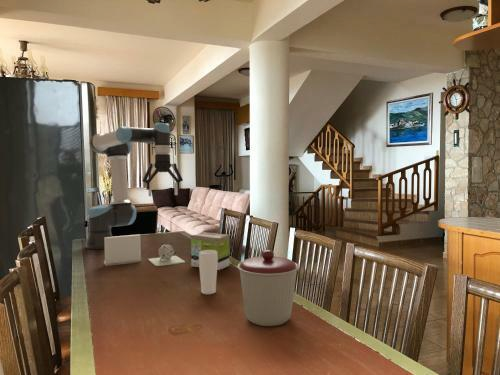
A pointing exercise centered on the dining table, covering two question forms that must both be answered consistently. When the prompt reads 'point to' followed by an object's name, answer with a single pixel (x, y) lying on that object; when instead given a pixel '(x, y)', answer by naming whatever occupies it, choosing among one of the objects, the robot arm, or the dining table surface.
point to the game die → (166, 252)
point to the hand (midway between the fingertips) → (163, 195)
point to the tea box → (210, 247)
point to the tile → (166, 261)
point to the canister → (268, 288)
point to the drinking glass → (208, 270)
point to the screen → (122, 250)
